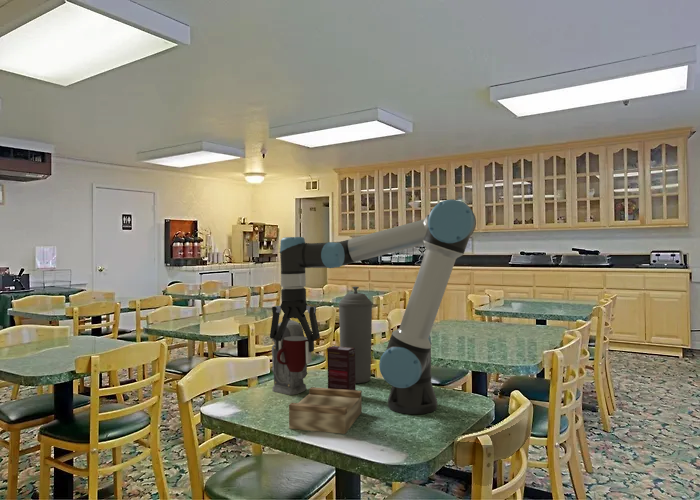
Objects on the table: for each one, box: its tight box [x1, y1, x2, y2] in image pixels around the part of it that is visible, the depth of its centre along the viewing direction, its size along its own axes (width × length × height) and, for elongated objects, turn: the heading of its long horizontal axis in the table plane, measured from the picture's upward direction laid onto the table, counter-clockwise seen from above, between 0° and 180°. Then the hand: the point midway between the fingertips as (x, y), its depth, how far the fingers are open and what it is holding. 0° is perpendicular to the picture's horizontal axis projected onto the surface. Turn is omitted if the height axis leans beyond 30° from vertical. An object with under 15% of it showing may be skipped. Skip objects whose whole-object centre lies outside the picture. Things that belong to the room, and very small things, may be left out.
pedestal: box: [288, 386, 363, 435], centre depth 145 cm, size 16×18×6 cm
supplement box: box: [326, 345, 357, 390], centre depth 170 cm, size 9×5×16 cm, turn 60°
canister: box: [338, 286, 373, 384], centre depth 188 cm, size 13×13×35 cm
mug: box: [277, 335, 308, 372], centre depth 154 cm, size 11×8×10 cm
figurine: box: [271, 318, 308, 396], centre depth 176 cm, size 10×14×25 cm
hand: (295, 362), depth 153 cm, fingers closed on mug, 8 cm apart
